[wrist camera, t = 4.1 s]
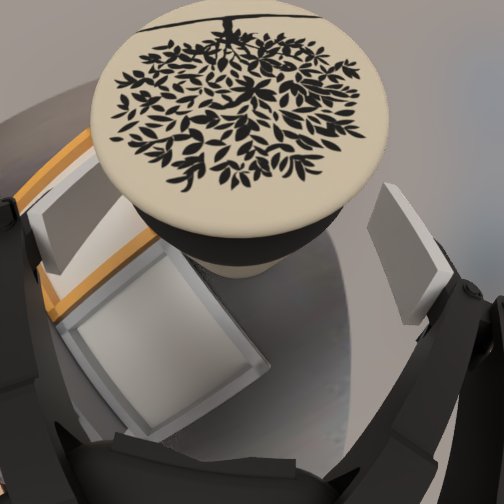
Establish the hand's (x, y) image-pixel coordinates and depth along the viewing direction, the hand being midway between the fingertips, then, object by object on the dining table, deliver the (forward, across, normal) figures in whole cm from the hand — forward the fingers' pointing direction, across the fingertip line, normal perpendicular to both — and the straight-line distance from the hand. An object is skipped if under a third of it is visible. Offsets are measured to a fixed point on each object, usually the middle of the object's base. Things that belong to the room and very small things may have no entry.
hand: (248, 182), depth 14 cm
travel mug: (+7, 0, -7) cm, 10 cm away
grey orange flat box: (+2, -10, -12) cm, 16 cm away
